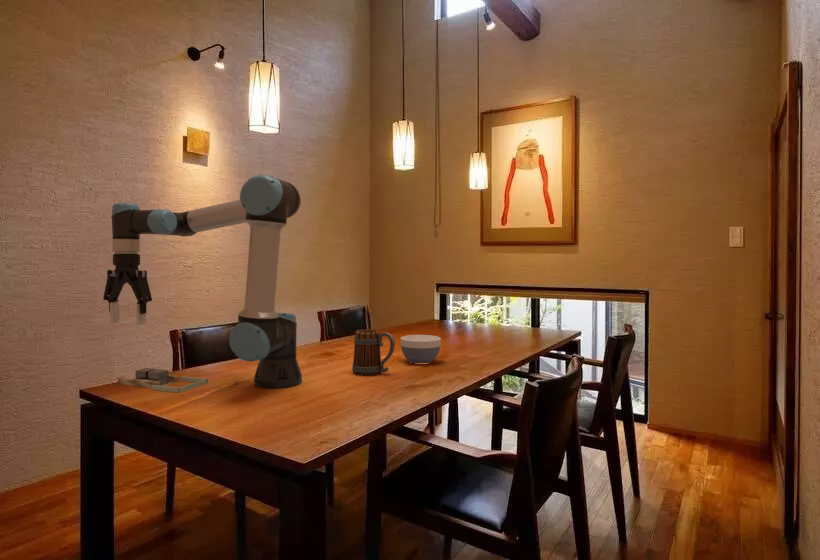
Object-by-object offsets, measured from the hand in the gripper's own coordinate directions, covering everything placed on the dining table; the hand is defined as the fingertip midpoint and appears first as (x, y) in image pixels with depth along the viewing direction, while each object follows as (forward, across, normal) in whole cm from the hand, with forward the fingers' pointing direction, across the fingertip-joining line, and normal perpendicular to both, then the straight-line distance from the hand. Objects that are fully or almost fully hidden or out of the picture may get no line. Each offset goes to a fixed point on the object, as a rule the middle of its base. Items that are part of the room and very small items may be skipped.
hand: (127, 323), depth 158 cm
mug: (+20, -66, -42) cm, 81 cm away
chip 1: (+18, -7, 0) cm, 20 cm away
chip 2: (+18, -12, 0) cm, 22 cm away
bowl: (+20, -76, -66) cm, 103 cm away
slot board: (+20, -8, 0) cm, 21 cm away
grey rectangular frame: (+20, -20, 0) cm, 28 cm away
